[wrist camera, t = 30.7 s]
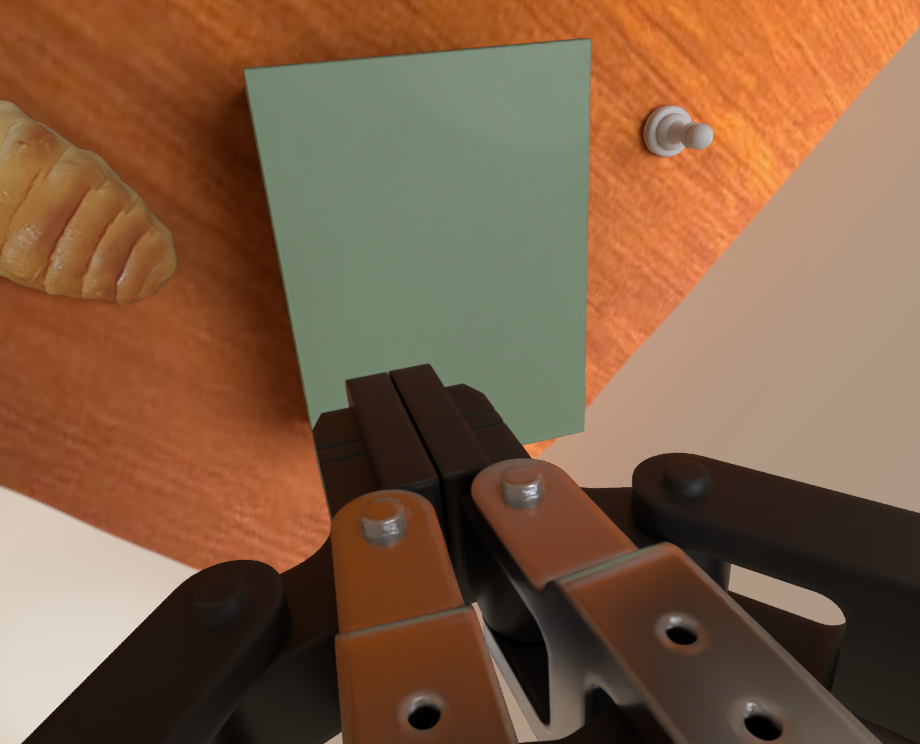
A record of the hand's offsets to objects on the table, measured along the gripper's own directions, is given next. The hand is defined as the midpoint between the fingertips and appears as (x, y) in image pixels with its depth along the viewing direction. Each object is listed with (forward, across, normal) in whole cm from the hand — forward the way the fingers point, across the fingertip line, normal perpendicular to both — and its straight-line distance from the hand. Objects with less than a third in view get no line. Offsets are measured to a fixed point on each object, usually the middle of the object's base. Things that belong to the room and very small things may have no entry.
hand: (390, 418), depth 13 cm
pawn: (+24, -20, 0) cm, 31 cm away
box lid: (+18, -5, +4) cm, 19 cm away
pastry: (+24, +10, 0) cm, 26 cm away
